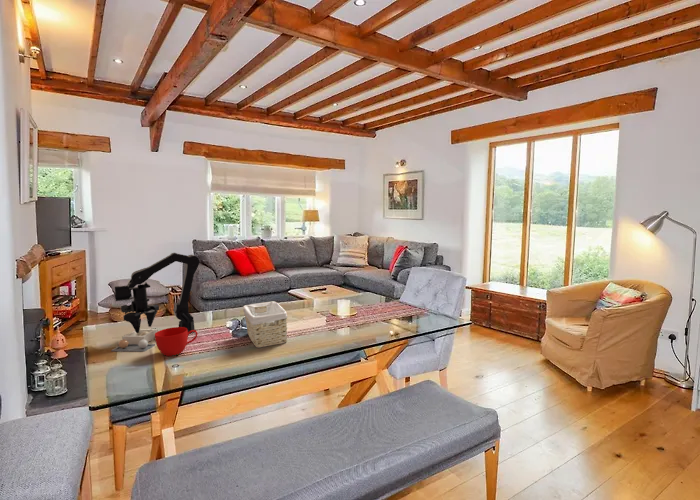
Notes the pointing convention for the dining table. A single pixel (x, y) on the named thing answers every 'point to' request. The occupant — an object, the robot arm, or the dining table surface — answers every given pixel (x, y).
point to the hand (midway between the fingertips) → (143, 329)
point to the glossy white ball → (143, 344)
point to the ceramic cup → (173, 340)
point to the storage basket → (266, 324)
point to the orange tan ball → (123, 343)
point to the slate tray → (133, 348)
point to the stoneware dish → (135, 337)
